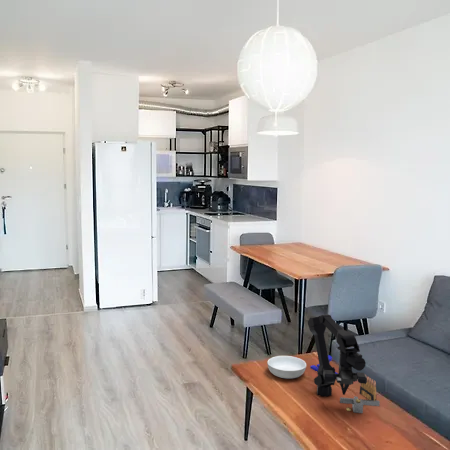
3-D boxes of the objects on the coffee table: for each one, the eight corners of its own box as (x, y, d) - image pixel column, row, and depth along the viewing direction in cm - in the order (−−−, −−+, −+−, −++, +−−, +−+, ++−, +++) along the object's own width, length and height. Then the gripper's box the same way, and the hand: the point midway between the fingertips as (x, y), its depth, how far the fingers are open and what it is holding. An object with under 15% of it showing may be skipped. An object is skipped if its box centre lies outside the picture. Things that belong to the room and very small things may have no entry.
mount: (338, 376, 252) (339, 360, 251) (328, 378, 248) (329, 362, 247) (320, 365, 265) (321, 351, 264) (310, 368, 261) (310, 353, 260)
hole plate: (343, 418, 207) (343, 410, 207) (339, 404, 220) (340, 397, 220) (384, 421, 205) (385, 414, 205) (378, 407, 218) (379, 400, 218)
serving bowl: (288, 364, 266) (289, 352, 265) (313, 378, 248) (314, 366, 247) (259, 371, 255) (259, 359, 254) (283, 386, 237) (283, 373, 236)
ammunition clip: (376, 405, 220) (377, 381, 219) (372, 405, 220) (374, 381, 218) (362, 395, 230) (363, 371, 229) (359, 395, 230) (360, 372, 228)
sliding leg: (353, 412, 210) (354, 401, 209) (350, 403, 218) (351, 393, 218) (362, 413, 209) (363, 402, 209) (359, 404, 218) (360, 393, 217)
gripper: (326, 367, 203) (324, 401, 205) (370, 370, 201) (367, 404, 203) (324, 357, 214) (322, 389, 216) (365, 360, 212) (363, 393, 214)
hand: (343, 394), depth 212 cm, fingers closed
